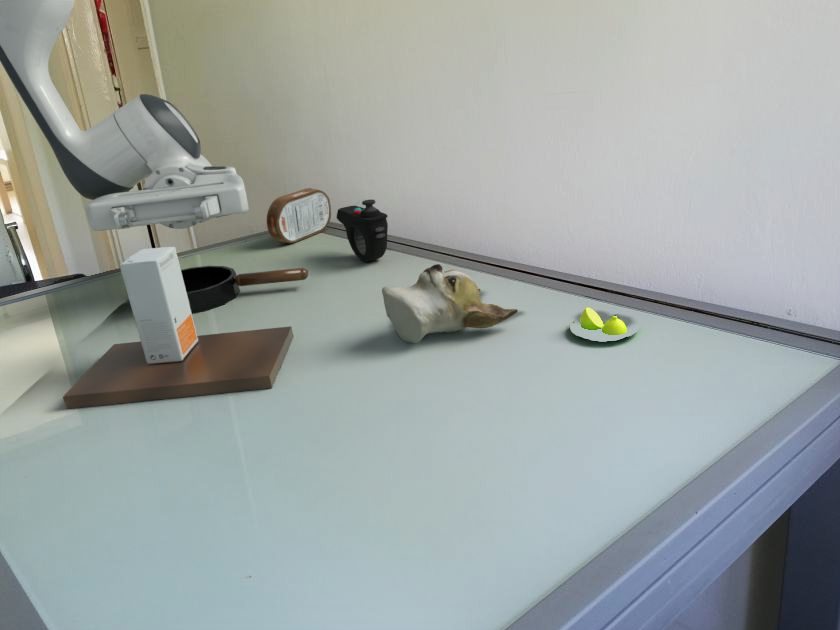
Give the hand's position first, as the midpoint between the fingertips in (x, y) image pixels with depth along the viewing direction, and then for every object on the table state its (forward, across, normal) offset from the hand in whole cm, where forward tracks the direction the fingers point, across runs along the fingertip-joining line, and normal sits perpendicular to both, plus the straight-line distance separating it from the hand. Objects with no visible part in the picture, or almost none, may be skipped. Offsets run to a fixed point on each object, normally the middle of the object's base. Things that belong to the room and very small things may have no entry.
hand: (160, 217), depth 90 cm
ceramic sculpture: (+15, +32, +15) cm, 38 cm away
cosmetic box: (+12, 0, +14) cm, 18 cm away
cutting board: (+14, +2, +15) cm, 21 cm away
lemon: (+23, +49, +15) cm, 56 cm away
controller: (-20, +26, +15) cm, 36 cm away
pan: (-12, +4, +15) cm, 19 cm away
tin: (-40, +16, +15) cm, 46 cm away
